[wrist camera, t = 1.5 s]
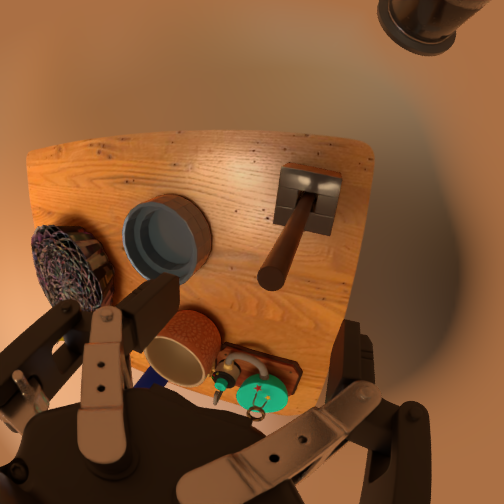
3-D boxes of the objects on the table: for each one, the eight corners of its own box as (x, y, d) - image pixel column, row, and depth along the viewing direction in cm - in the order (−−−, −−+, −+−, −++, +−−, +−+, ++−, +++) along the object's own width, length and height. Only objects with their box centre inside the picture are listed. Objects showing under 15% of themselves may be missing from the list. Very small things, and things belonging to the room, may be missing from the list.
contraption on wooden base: (217, 329, 54) (183, 384, 40) (309, 355, 50) (295, 419, 37) (214, 375, 60) (186, 425, 46) (292, 397, 56) (276, 454, 43)
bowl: (142, 188, 46) (120, 196, 41) (216, 200, 44) (199, 210, 38) (144, 260, 52) (125, 274, 47) (210, 279, 50) (195, 297, 44)
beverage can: (160, 357, 63) (127, 399, 50) (163, 344, 61) (128, 388, 47) (179, 368, 62) (148, 412, 49) (183, 355, 60) (150, 402, 47)
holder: (289, 162, 38) (281, 166, 33) (341, 172, 37) (342, 178, 31) (281, 211, 41) (272, 223, 36) (331, 222, 40) (330, 236, 35)
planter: (238, 326, 52) (216, 365, 42) (213, 360, 58) (192, 396, 48) (182, 290, 52) (151, 322, 43) (165, 328, 58) (138, 360, 48)
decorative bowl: (128, 223, 52) (94, 237, 43) (133, 335, 62) (109, 358, 53) (55, 206, 58) (24, 215, 48) (65, 301, 67) (41, 317, 58)
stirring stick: (306, 185, 39) (258, 263, 16) (317, 188, 39) (286, 270, 16) (304, 196, 40) (255, 287, 17) (315, 199, 39) (281, 294, 16)
